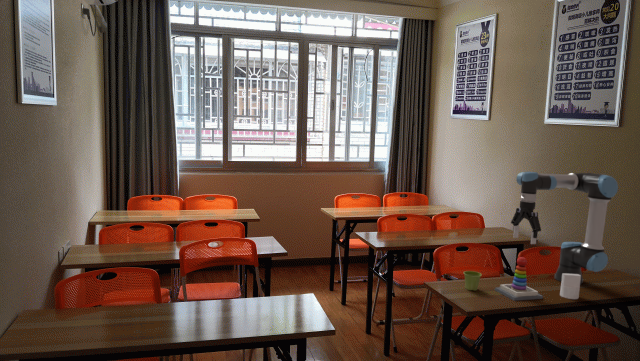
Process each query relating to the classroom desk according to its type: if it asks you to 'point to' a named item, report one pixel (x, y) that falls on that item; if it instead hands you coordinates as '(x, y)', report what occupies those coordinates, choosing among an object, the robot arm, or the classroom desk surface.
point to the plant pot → (472, 279)
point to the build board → (518, 293)
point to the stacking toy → (520, 276)
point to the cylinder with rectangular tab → (570, 286)
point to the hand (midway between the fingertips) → (524, 240)
